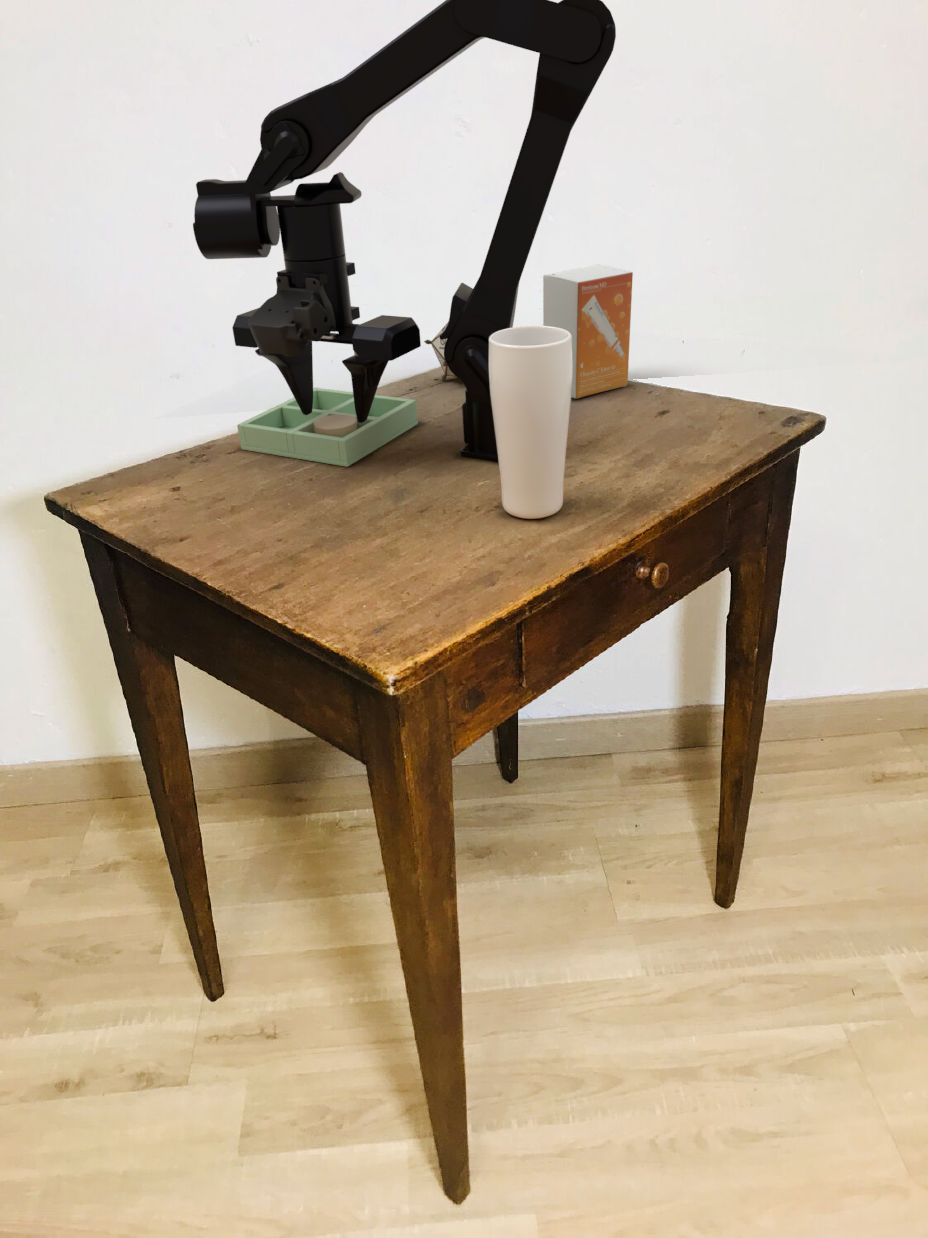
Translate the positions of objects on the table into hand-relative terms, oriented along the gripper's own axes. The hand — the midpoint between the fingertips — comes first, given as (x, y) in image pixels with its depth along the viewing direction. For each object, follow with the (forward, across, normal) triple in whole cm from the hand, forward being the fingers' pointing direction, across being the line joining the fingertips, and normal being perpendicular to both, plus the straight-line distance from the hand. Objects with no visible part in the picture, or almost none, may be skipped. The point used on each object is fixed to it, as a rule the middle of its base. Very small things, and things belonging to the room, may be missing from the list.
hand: (334, 417), depth 97 cm
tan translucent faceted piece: (+4, +1, +26) cm, 26 cm away
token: (+3, 0, 0) cm, 3 cm away
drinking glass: (+4, +25, -6) cm, 26 cm away
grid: (+4, -3, +3) cm, 6 cm away
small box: (+4, +16, +28) cm, 33 cm away
